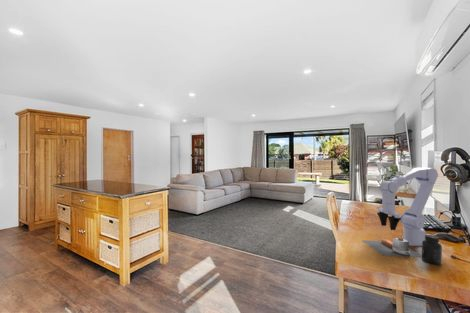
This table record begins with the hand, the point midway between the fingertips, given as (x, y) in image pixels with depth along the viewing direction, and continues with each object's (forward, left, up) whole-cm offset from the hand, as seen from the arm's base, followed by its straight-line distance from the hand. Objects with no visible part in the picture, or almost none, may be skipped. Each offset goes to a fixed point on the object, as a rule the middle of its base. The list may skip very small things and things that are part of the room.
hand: (388, 227), depth 120 cm
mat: (+2, +6, -9) cm, 11 cm away
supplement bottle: (-7, +20, -10) cm, 23 cm away
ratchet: (+1, +7, -9) cm, 11 cm away
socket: (+1, +12, -7) cm, 14 cm away
